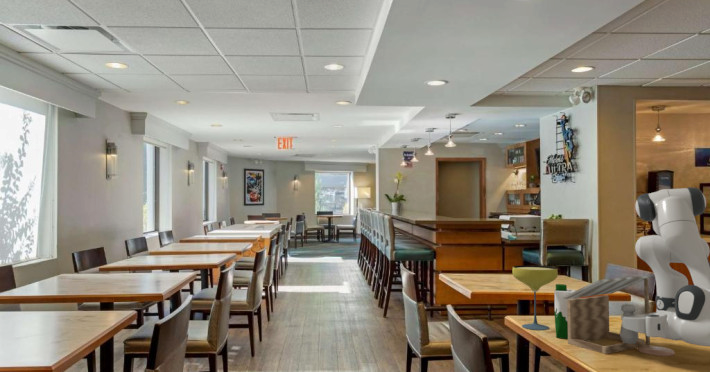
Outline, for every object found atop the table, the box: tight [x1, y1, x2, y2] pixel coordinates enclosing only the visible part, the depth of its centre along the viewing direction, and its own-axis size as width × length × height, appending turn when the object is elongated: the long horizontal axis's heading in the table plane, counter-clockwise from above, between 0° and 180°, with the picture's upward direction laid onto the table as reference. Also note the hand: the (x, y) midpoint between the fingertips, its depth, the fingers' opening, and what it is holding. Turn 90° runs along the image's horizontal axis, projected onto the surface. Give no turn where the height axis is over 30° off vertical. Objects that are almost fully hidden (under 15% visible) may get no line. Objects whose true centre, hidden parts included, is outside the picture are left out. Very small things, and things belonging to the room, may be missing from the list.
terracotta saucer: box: [637, 344, 675, 357], centre depth 176 cm, size 11×11×1 cm
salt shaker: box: [619, 303, 640, 344], centre depth 178 cm, size 6×6×13 cm
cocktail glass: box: [512, 264, 559, 331], centre depth 214 cm, size 18×18×25 cm
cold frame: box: [563, 274, 651, 355], centre depth 186 cm, size 28×16×25 cm, turn 118°
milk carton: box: [554, 283, 581, 340], centre depth 197 cm, size 9×9×20 cm
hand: (626, 317), depth 179 cm, fingers closed on salt shaker, 3 cm apart
